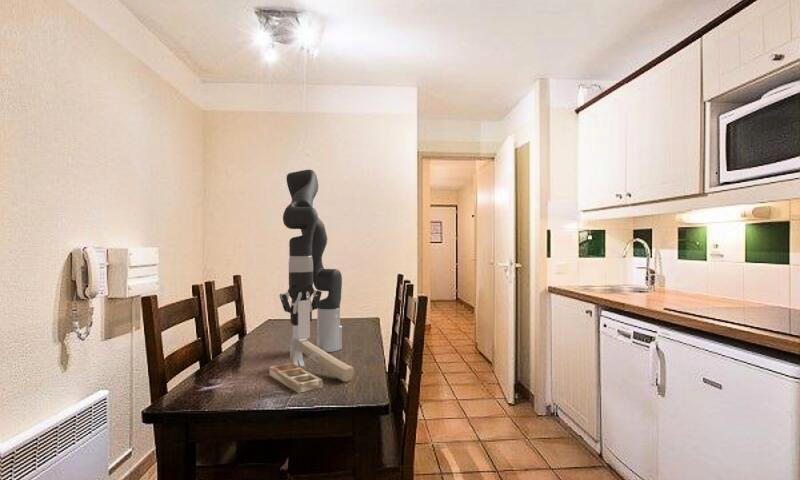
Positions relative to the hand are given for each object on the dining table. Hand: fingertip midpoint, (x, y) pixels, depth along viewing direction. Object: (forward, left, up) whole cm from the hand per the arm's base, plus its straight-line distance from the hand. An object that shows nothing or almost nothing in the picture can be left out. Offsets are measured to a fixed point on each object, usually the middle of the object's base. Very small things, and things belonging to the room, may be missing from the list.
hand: (301, 324), depth 142 cm
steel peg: (0, 0, -4) cm, 4 cm away
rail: (+1, -3, -18) cm, 19 cm away
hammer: (-10, -6, -19) cm, 22 cm away
